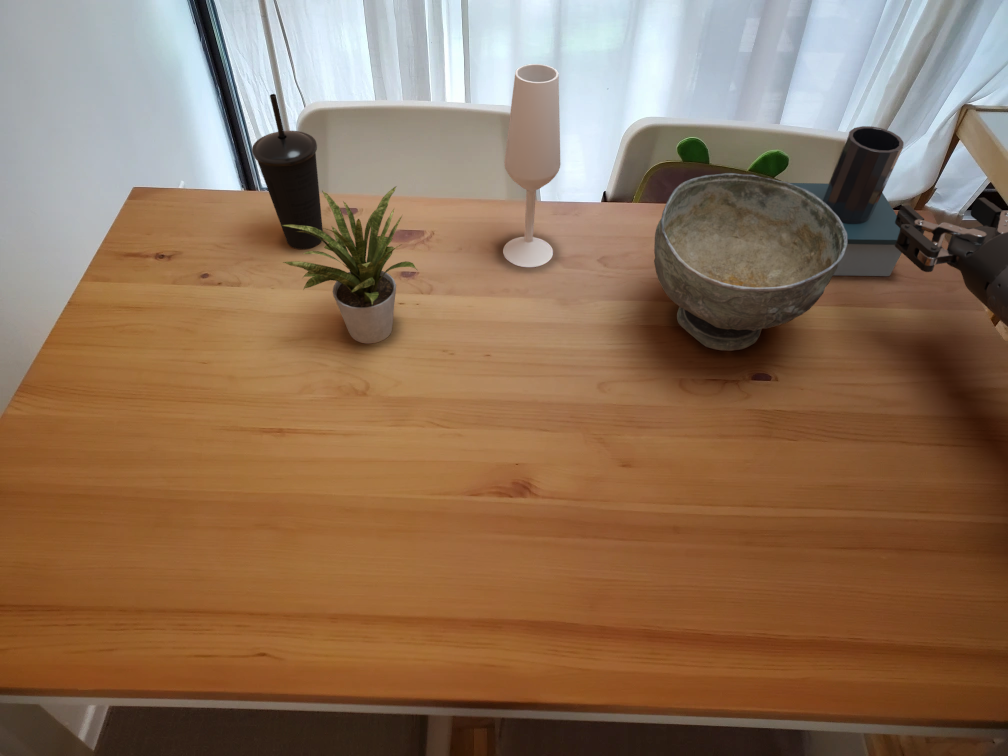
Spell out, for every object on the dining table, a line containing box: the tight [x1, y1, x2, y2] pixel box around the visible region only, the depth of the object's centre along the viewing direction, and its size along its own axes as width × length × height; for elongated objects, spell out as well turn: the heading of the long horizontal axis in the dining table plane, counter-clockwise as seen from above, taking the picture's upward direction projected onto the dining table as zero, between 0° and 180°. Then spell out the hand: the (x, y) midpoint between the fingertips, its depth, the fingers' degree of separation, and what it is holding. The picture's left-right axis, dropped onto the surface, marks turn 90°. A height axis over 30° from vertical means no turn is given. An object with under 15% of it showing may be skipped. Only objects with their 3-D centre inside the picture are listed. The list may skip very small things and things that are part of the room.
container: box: [789, 182, 903, 277], centre depth 95 cm, size 13×13×6 cm
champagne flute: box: [502, 63, 561, 268], centre depth 87 cm, size 7×7×24 cm
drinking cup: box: [251, 93, 324, 250], centre depth 90 cm, size 8×8×20 cm
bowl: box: [653, 172, 847, 352], centre depth 81 cm, size 20×19×15 cm
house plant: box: [282, 186, 419, 344], centre depth 80 cm, size 14×14×16 cm
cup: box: [822, 125, 905, 224], centre depth 89 cm, size 6×6×10 cm
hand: (938, 209), depth 81 cm, fingers open, 8 cm apart
